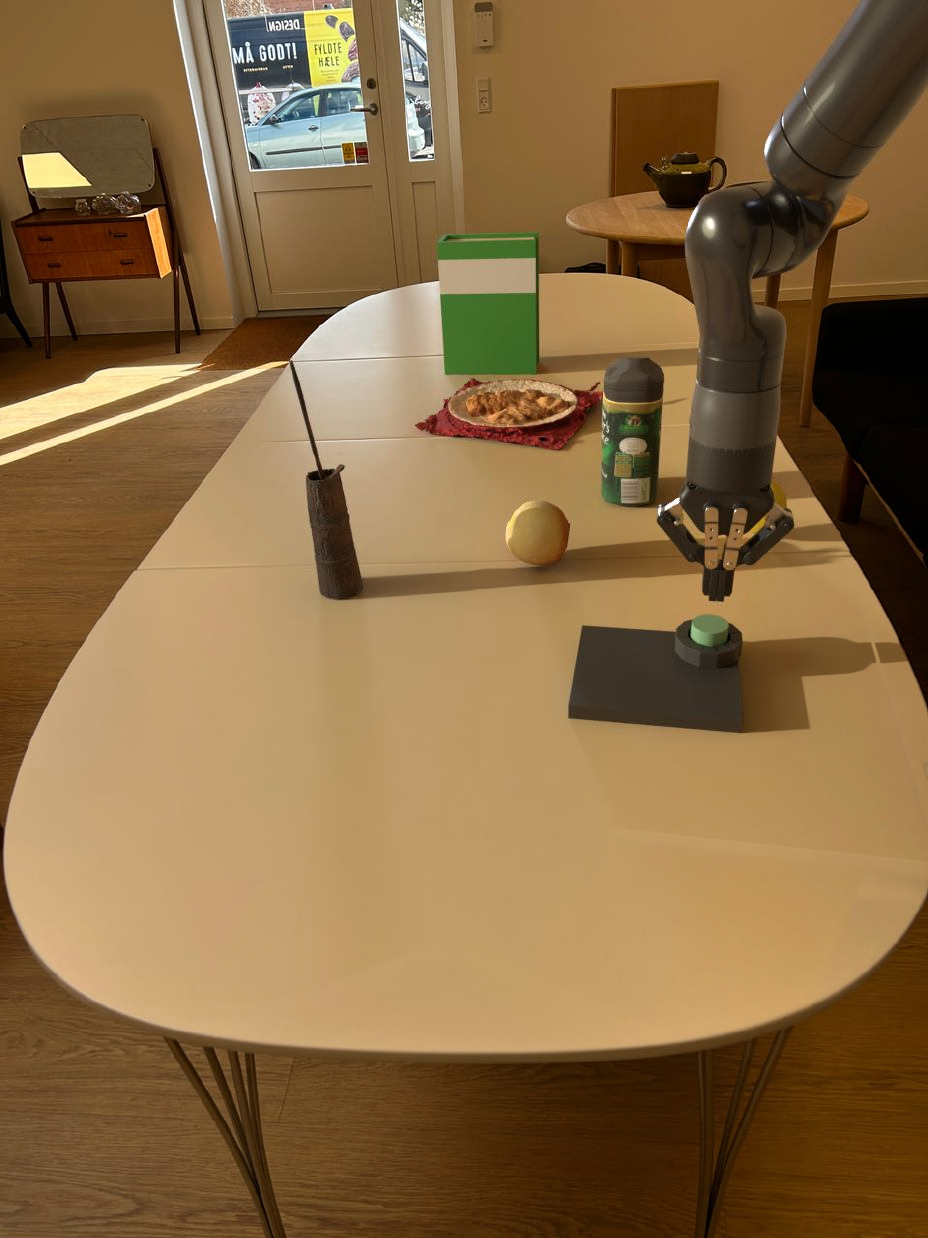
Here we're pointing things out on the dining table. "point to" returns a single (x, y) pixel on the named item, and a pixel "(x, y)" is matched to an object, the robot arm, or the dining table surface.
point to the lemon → (779, 499)
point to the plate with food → (513, 412)
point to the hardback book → (489, 302)
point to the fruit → (538, 533)
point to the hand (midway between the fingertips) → (716, 597)
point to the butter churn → (329, 523)
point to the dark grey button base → (657, 679)
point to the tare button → (709, 630)
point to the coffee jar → (631, 431)
